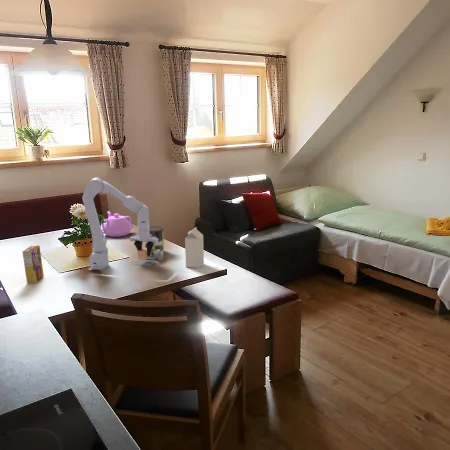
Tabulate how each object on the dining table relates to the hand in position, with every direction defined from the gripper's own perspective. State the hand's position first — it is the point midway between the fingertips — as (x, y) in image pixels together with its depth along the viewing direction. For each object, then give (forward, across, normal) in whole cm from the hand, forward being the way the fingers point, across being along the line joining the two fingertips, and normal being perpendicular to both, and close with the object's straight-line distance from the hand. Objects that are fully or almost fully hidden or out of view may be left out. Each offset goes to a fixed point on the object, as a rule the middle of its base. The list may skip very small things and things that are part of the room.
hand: (144, 255), depth 212 cm
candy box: (+5, +39, +33) cm, 51 cm away
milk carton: (+5, -25, -4) cm, 26 cm away
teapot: (+5, +45, -51) cm, 68 cm away
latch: (+4, -5, -5) cm, 8 cm away
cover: (+1, 0, 0) cm, 1 cm away
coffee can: (+5, +3, -18) cm, 19 cm away
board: (+5, 0, -3) cm, 5 cm away
